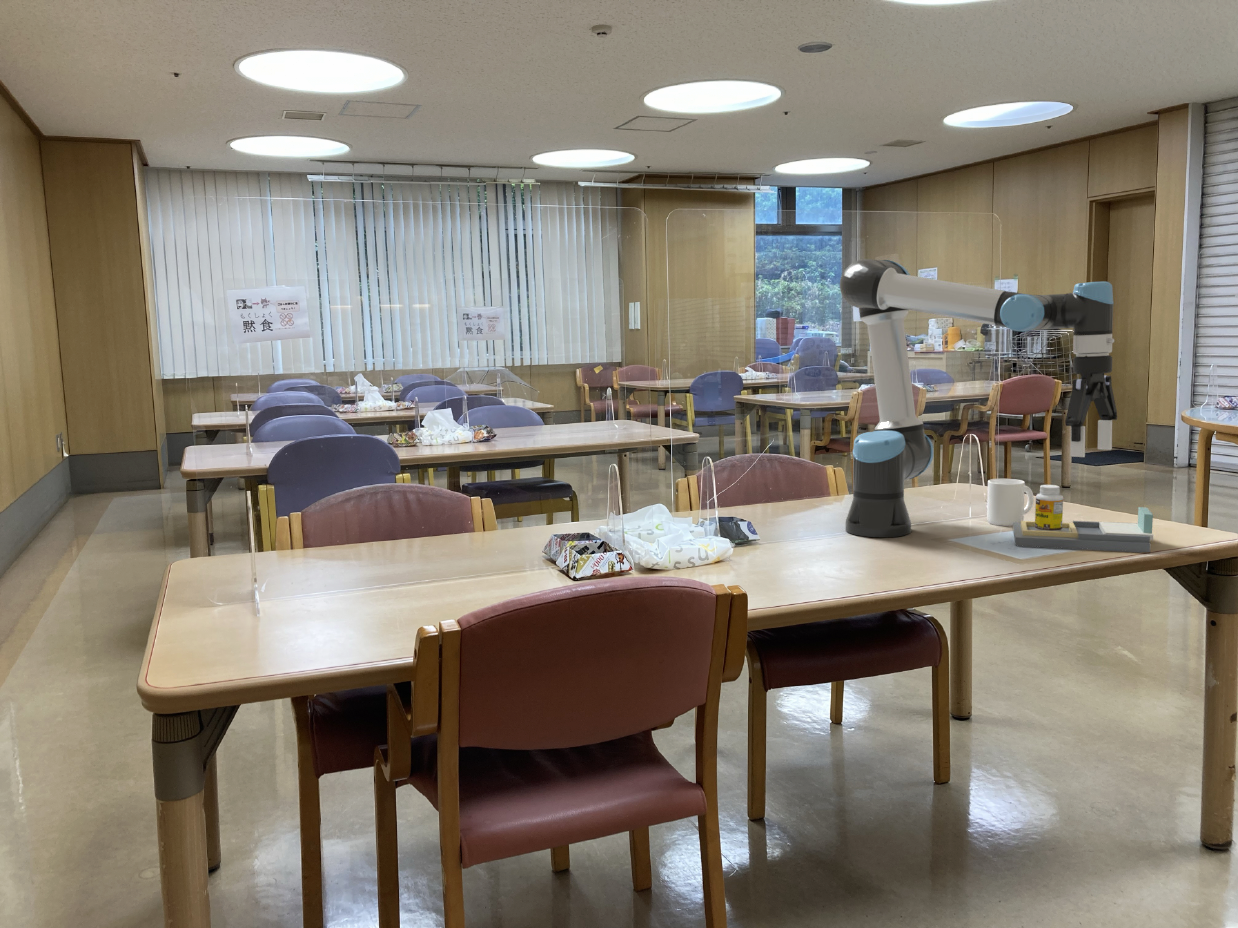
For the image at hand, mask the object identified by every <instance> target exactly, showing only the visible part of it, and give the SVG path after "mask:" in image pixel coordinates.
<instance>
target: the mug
mask: <svg viewBox="0 0 1238 928" xmlns="http://www.w3.org/2000/svg"><path fill="white" fill-rule="evenodd" d="M1025 482H1026V481H1024V480H1022V479H1015V478H992V479H988V480H987V496H986V497H987V498H986V499H987V502H986V503H987V508H986V520H987V522H988V523H989V524H990V525H993V526H1000V527H1013V523H1021V521H1024V519H1025V515H1026V514H1028V513H1029V512H1030V511H1031V510H1032V508H1033V506H1034V501H1035V499H1034V498H1035V497H1034V493H1033V490H1032V489H1031V488H1030V487H1029V486H1027V485H1026V484H1025ZM1025 494H1026V496H1027V502H1026V506H1025Z"/></svg>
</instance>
